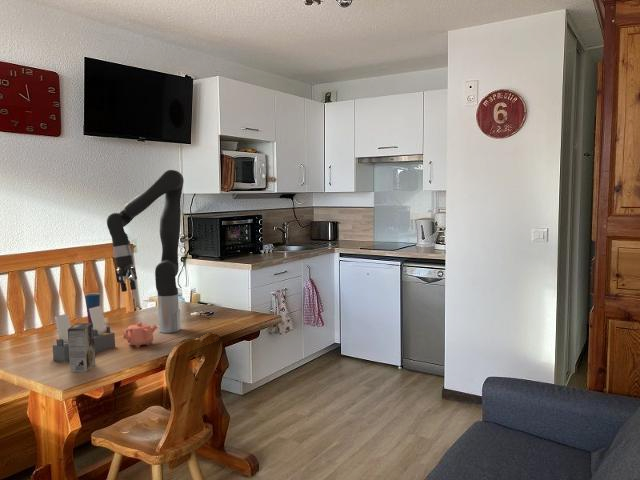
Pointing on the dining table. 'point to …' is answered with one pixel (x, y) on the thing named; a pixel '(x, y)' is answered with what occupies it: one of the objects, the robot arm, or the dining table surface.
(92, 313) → the rocker
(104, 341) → the grey block structure
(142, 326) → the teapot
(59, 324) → the rocker
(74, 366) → the coffee box
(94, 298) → the cup
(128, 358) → the dining table surface
